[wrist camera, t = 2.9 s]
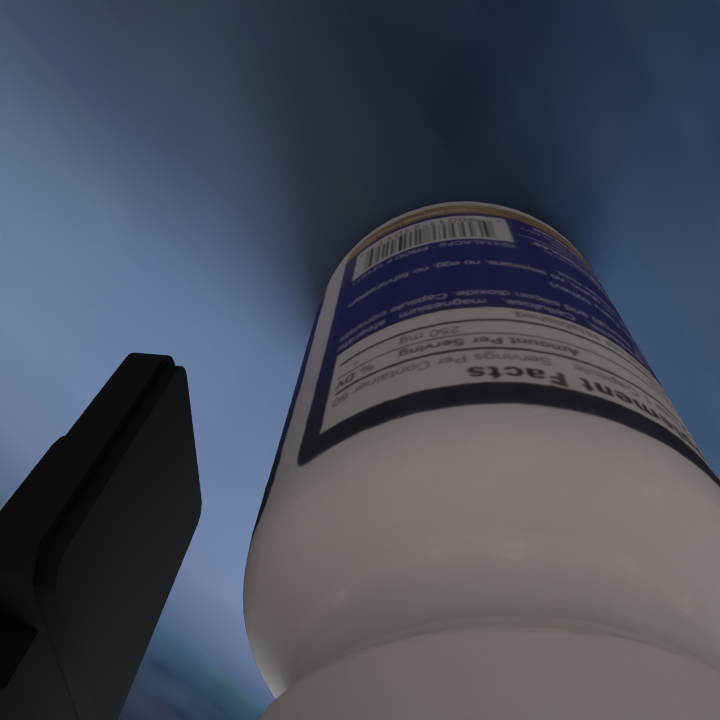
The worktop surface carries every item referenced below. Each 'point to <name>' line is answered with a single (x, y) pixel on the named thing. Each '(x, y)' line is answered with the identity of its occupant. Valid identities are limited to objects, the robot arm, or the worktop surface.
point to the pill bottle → (482, 496)
